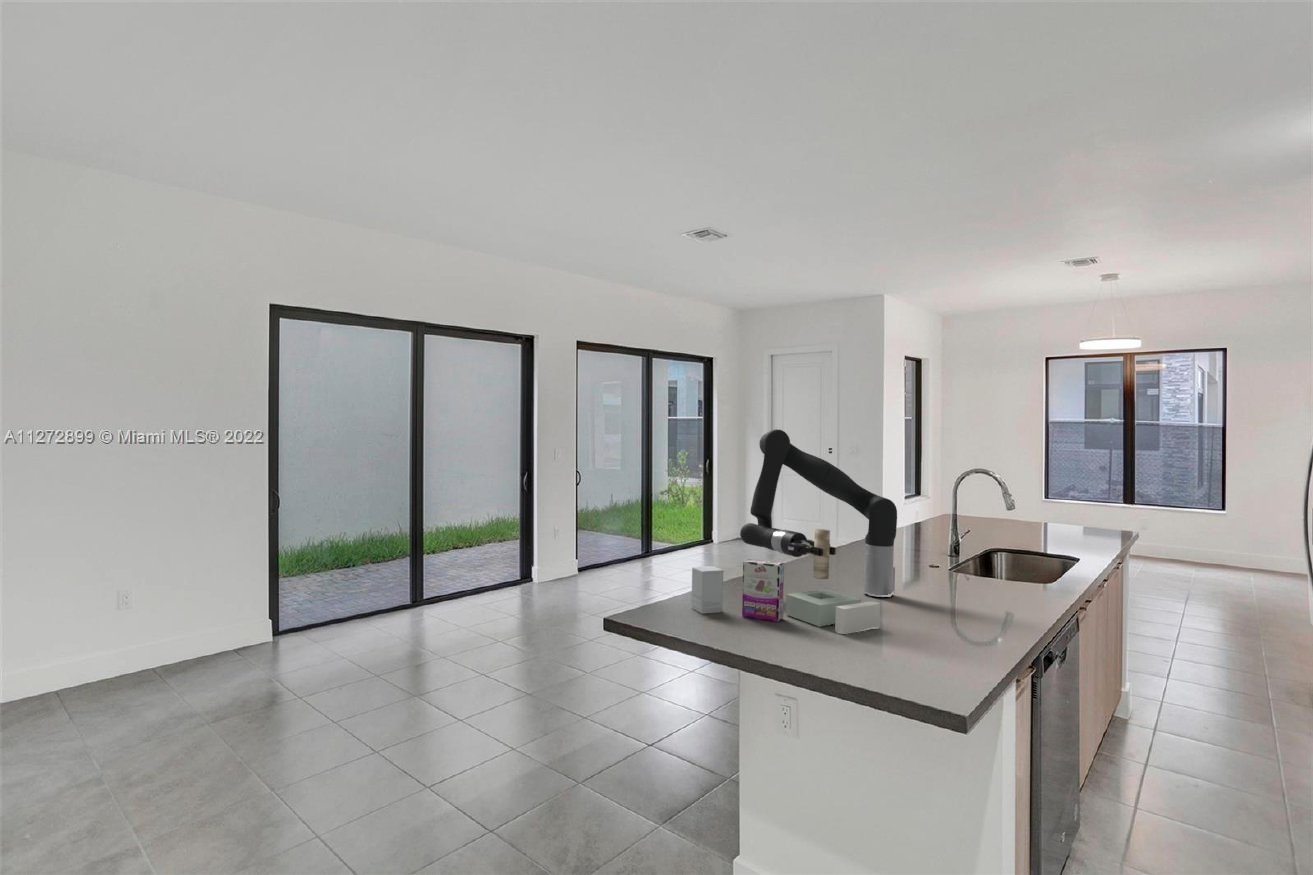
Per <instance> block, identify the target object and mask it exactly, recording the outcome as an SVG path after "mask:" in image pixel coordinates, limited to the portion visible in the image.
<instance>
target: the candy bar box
mask: <svg viewBox="0 0 1313 875" xmlns="http://www.w3.org/2000/svg"><path fill="white" fill-rule="evenodd" d="M742 566H743V567H742V602H741V603H742V607H741V608H742V609H741V611H742V612H741V613H742V614H741V617H743V618H749V619H754V620H761V621H768V622H775V623H779V622H781V621H782V620H783V619H784V587H785V586H784V585H785V584H784V583H785V582H784V579H785V562H779V561H778V562H776V561H768V560H762V559H761V560H760V559H746V560H744V561H743V562H742ZM782 618H783V619H782ZM781 619H782V620H781Z"/></svg>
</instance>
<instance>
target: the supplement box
mask: <svg viewBox="0 0 1313 875" xmlns="http://www.w3.org/2000/svg"><path fill="white" fill-rule="evenodd" d="M691 571H692V572H691V603H690V604H691V606H690V607H691V609H693V610H695V611H696V612H697V613H700V614H715V613H722V612H723V610H724V608H723V607H724V570H723V569H721V568H718V567H716V566H714V565H707V566H693V567H692V568H691Z"/></svg>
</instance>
